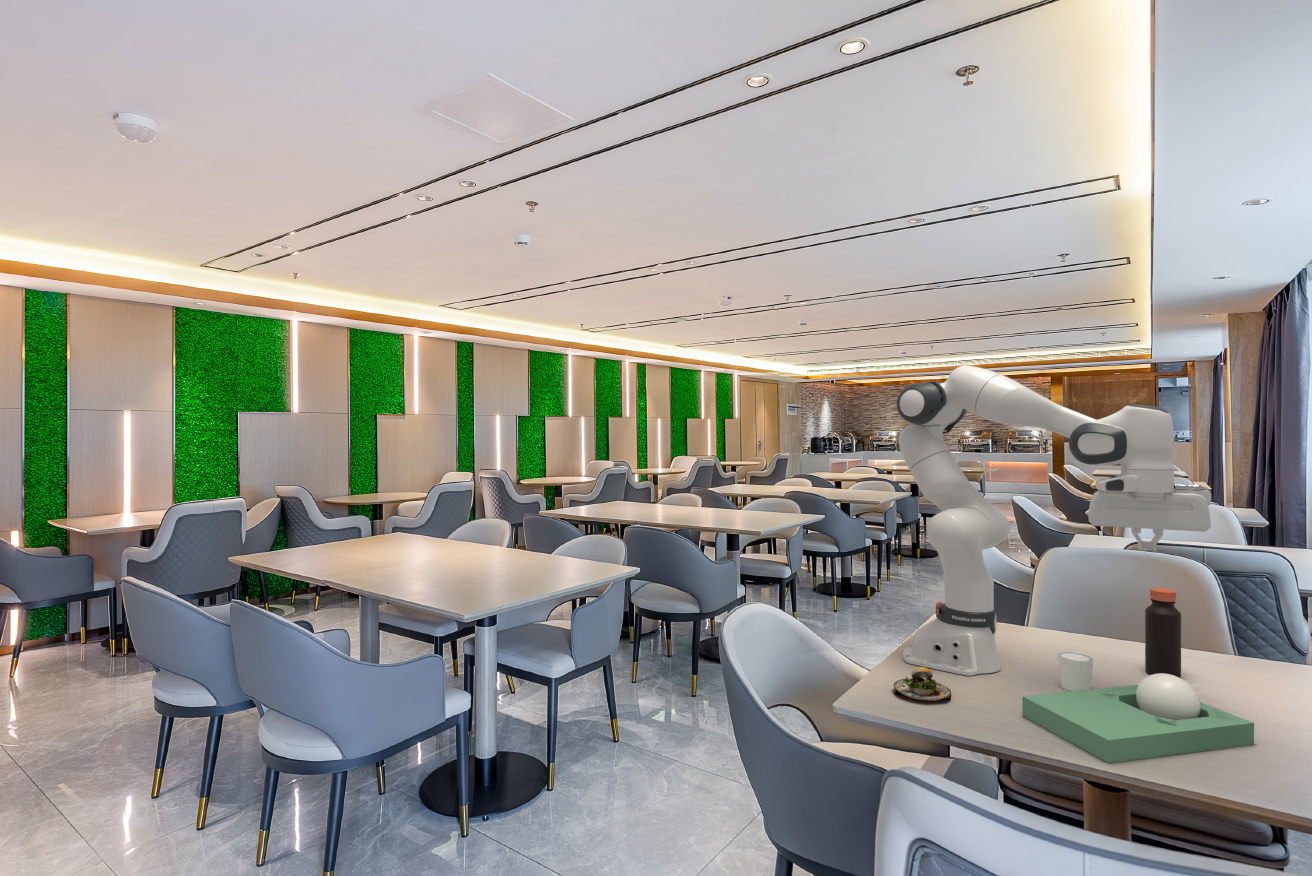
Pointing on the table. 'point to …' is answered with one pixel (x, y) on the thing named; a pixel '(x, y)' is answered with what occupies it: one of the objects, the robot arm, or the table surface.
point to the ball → (1167, 697)
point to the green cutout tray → (1132, 725)
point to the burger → (922, 686)
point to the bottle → (1162, 634)
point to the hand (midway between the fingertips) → (1146, 550)
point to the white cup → (1075, 671)
